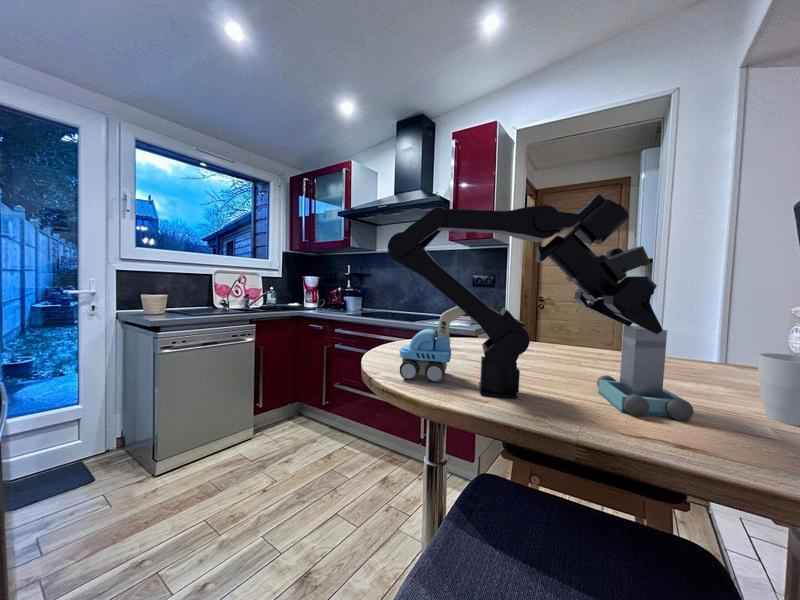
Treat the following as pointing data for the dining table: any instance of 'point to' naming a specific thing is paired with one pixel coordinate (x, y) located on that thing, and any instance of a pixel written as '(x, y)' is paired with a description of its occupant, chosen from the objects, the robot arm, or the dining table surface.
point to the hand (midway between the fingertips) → (643, 328)
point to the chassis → (644, 401)
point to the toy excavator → (430, 350)
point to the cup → (780, 386)
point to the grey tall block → (642, 362)
